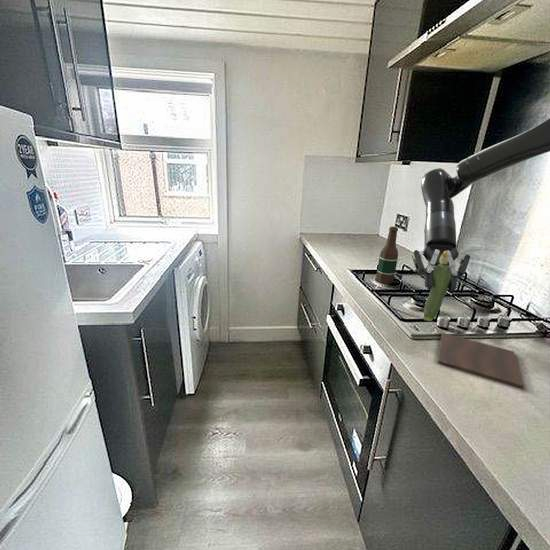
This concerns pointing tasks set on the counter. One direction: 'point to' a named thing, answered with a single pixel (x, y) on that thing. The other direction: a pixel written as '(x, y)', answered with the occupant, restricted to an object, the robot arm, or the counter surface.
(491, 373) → the board
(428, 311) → the vegetable
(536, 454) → the counter surface
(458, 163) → the robot arm
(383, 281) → the beer bottle
